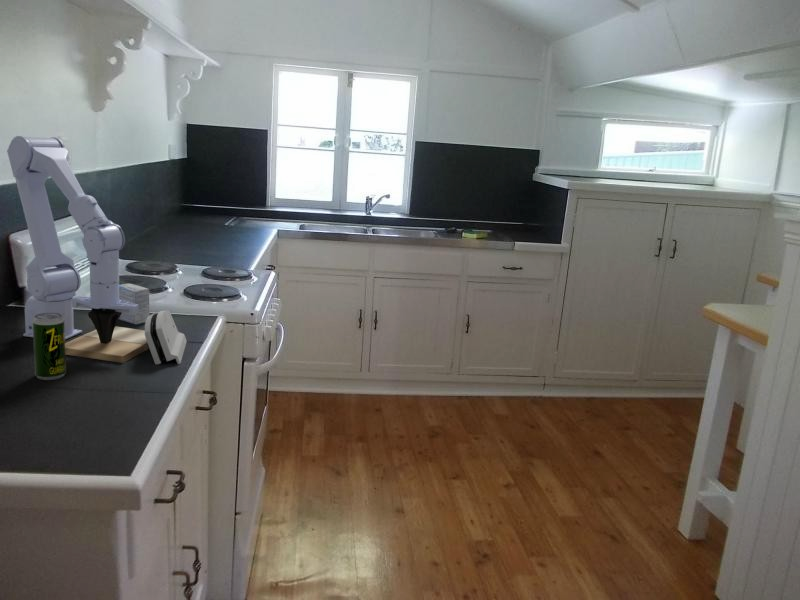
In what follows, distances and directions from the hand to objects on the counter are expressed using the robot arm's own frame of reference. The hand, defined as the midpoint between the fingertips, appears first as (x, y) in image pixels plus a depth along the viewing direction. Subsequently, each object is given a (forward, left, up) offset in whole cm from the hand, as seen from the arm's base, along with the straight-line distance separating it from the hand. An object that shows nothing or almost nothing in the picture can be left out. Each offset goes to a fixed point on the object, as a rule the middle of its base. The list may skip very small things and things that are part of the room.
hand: (105, 341), depth 148 cm
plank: (0, -2, -2) cm, 3 cm away
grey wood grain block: (-7, +22, -2) cm, 23 cm away
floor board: (0, +6, -2) cm, 7 cm away
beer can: (0, -18, -2) cm, 18 cm away
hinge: (+12, +3, -2) cm, 13 cm away
